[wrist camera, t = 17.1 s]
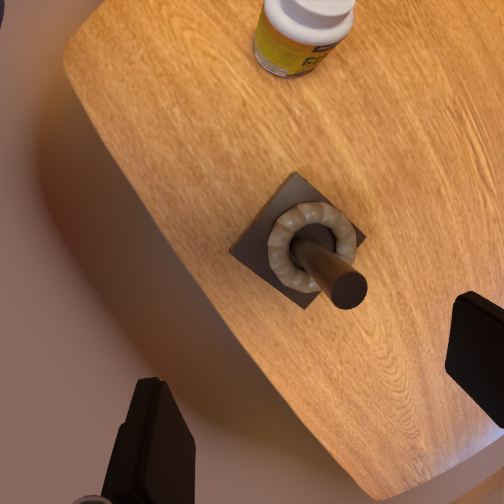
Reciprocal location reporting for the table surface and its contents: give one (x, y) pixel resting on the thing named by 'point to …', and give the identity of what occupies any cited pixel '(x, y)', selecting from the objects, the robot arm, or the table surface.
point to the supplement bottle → (300, 33)
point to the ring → (296, 221)
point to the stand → (302, 249)
